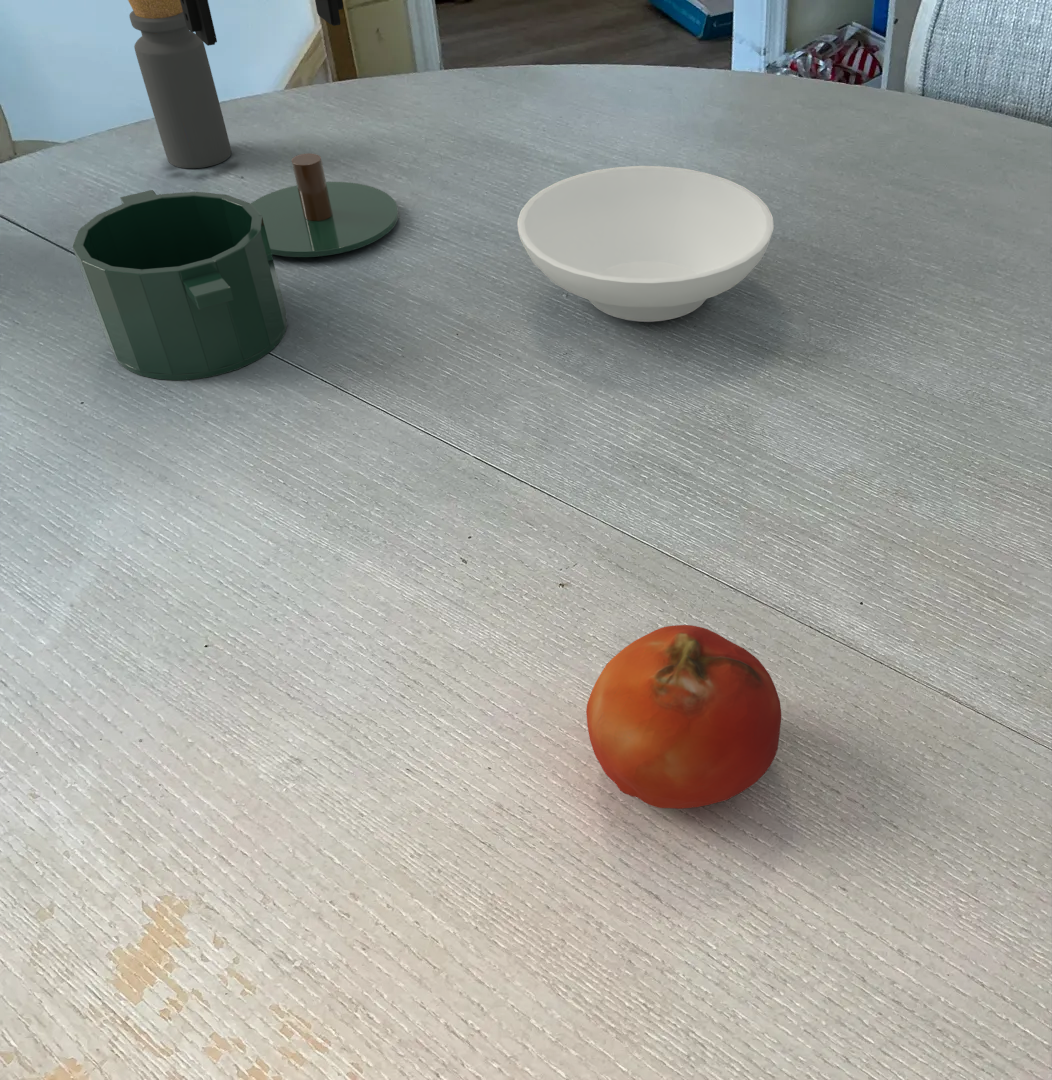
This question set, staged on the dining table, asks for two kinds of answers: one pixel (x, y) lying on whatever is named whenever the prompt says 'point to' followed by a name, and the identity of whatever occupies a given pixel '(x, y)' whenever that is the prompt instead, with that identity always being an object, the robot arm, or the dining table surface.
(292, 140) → the dining table surface
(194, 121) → the bottle
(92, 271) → the pot
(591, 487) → the dining table surface
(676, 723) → the tomato
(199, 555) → the dining table surface
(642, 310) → the bowl
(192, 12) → the robot arm
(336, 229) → the lid
